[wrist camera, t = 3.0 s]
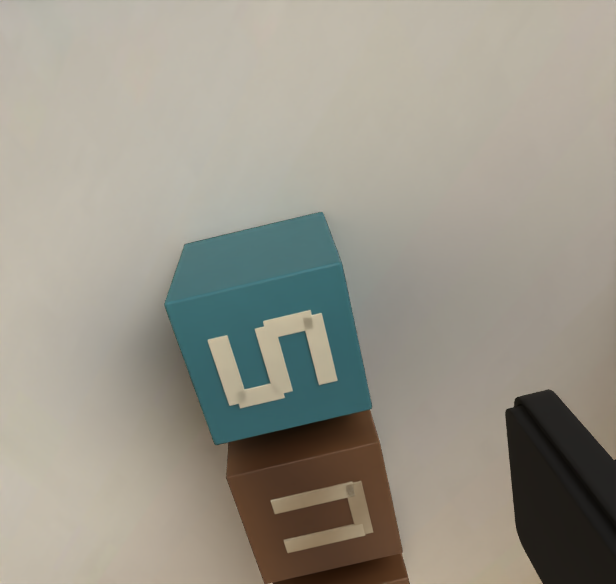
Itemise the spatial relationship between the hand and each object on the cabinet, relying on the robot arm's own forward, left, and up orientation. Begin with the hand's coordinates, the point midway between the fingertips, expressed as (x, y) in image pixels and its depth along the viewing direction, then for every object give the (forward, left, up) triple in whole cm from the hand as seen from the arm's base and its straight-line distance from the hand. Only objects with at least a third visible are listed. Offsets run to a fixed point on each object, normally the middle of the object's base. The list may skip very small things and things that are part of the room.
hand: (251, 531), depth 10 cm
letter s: (-1, 0, -10) cm, 10 cm away
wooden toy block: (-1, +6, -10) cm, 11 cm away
